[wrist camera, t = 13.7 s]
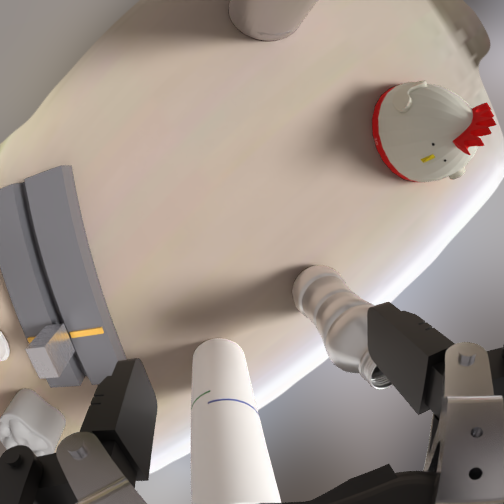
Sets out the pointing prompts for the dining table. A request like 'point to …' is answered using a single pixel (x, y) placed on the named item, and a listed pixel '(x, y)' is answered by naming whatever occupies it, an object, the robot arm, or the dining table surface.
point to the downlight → (3, 348)
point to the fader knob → (51, 351)
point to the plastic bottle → (338, 321)
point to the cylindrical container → (227, 430)
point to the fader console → (56, 273)
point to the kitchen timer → (428, 131)
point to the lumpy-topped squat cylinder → (31, 423)
